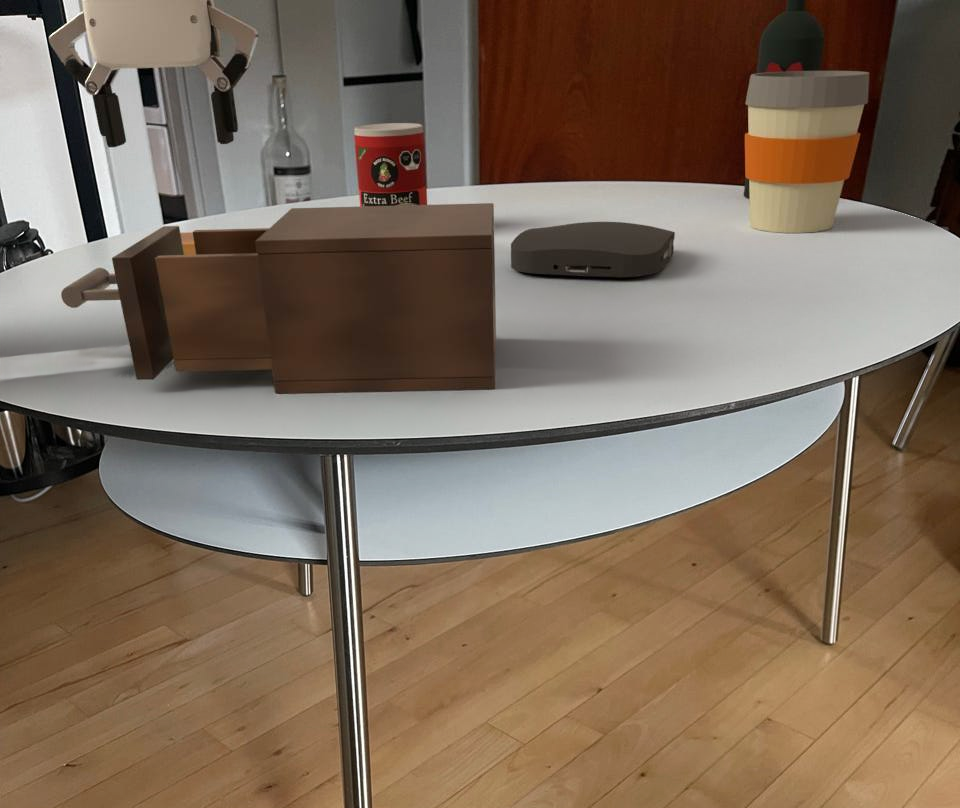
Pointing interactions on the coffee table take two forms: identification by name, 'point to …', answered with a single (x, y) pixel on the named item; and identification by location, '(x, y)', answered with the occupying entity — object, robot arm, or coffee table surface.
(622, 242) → the media streaming box
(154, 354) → the drawer
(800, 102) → the reusable coffee cup
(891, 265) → the coffee table surface
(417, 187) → the canned food
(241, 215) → the coffee table surface
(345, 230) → the cabinet
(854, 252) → the coffee table surface
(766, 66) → the wine bottle
